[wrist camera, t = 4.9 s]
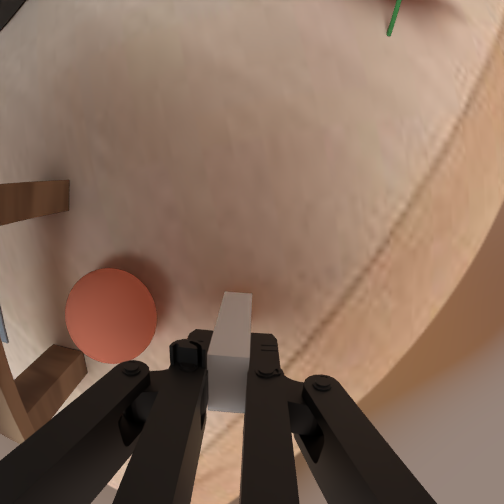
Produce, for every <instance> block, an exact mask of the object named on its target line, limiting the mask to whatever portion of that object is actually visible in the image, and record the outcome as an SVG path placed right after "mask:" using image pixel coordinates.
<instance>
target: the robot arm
mask: <svg viewBox="0 0 504 504" xmlns="http://www.w3.org/2000/svg"><path fill="white" fill-rule="evenodd" d="M24 1H25V0H0V30H1V28H2V27H3V26H4V25H5V24H6V23H7V22H8V20H9V19H10V18H11V17H12V16H13V15H14V13H15V12H16V11H17V10H18V8H19V7H20V6H21V5H22V3H23V2H24ZM251 312H252V293H238V292H224V296H223V299H222V303H221V306H220V310H219V314H218V317H217V321H216V324H215V328H214V331H211V330H200V329H195V330H194V331H193V332H191V333H190V334H189V336H188V338H187V339H182V340H177V341H175V342H173V343H171V345H170V346H169V348H170V363H171V365H170V367H169V369H166V370H161V371H149V367H148V366H147V365H146V364H145V363H143V362H141V361H136V360H129V361H125V362H122V363H120V364H118V365H117V366H115V367H114V368H113V369H112V370H111V371H109V372H108V373H107V374H106V375H104V376H103V377H102V378H101V379H100V380H98V381H97V382H96V383H95V384H93V385H92V386H91V387H90V388H89V389H87V390H86V391H85V392H84V393H82V394H81V395H80V396H79V397H78V398H76V399H75V400H74V401H73V402H71V403H70V404H69V405H68V406H67V407H65V408H64V409H63V410H62V411H60V412H59V413H58V414H57V415H56V416H54V417H53V418H52V419H51V420H49V421H48V422H47V423H46V424H45V425H43V426H42V427H41V428H40V429H38V430H37V431H36V432H35V433H34V434H32V435H31V436H30V437H29V438H27V439H26V440H25V441H24V442H23V443H21V444H20V445H19V446H18V447H16V448H15V449H14V450H13V451H12V452H10V453H9V454H8V455H7V456H5V457H4V458H3V459H2V460H1V461H0V504H91V502H92V501H93V500H94V499H95V498H96V497H97V495H98V494H99V493H100V492H101V491H102V489H103V488H104V487H105V486H106V485H107V483H108V482H109V481H110V480H111V479H112V477H113V476H114V475H115V474H116V473H117V471H118V470H119V469H120V468H121V467H122V465H123V464H124V463H125V462H126V461H127V459H128V458H129V457H130V456H131V454H132V453H133V454H132V456H131V458H130V461H129V463H128V466H127V468H126V471H125V473H124V476H123V478H122V481H121V483H120V486H119V488H118V491H117V493H116V496H115V498H114V501H113V503H112V504H190V502H191V497H192V491H193V486H194V481H195V475H196V470H197V465H198V460H199V454H200V449H201V444H202V439H203V434H204V429H205V424H206V408H207V404H208V410H211V411H221V412H233V413H245V415H244V428H243V447H242V464H241V482H240V499H239V504H299V497H298V486H297V477H296V469H295V460H294V451H293V443H292V434H291V433H294V438H295V440H296V442H297V444H298V446H299V448H300V450H301V452H302V454H303V456H304V458H305V460H306V462H307V464H308V466H309V468H310V470H311V472H312V474H313V476H314V478H315V480H316V482H317V484H318V486H319V487H320V489H321V491H322V493H323V495H324V497H325V499H326V501H327V503H328V504H437V503H436V502H435V501H434V499H433V498H432V497H431V496H430V495H429V494H428V492H427V491H426V490H425V489H424V487H423V486H422V485H421V484H420V483H419V481H418V480H417V479H416V478H415V477H414V475H413V474H412V473H411V471H410V470H409V469H408V468H407V467H406V465H405V464H404V463H403V462H402V460H401V459H400V458H399V457H398V455H397V454H396V453H395V452H394V451H393V449H392V448H391V447H390V446H389V444H388V443H387V442H386V441H385V440H384V438H383V437H382V436H381V435H380V433H379V432H378V431H377V429H375V427H374V426H373V425H372V423H371V422H370V421H369V420H368V418H367V417H366V416H365V415H364V414H363V412H362V411H361V410H360V408H359V407H358V406H357V405H356V403H355V402H354V401H353V399H352V398H351V397H350V396H349V394H348V393H347V392H346V391H345V389H344V388H343V387H342V386H341V384H340V383H339V382H338V381H337V380H336V379H334V378H332V377H330V376H327V375H313V376H309V377H308V378H307V379H305V382H304V383H303V382H298V381H294V380H291V379H289V378H287V377H286V376H284V373H283V370H282V369H281V368H280V361H279V353H278V344H277V339H276V338H275V337H274V336H273V335H272V334H263V333H251Z"/></svg>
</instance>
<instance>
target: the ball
mask: <svg viewBox="0 0 504 504" xmlns="http://www.w3.org/2000/svg"><path fill="white" fill-rule="evenodd" d="M65 319H66V325H67V329H68V332H69V334H70V336H71V338H72V340H73V342H74V343H75V344H76V346H77V347H78V348H79V349H80V350H81V351H82V352H83V353H84V354H86V355H87V356H89V357H90V358H92V359H94V360H97V361H99V362H103V363H110V364H117V363H122V362H125V361H129V360H132V359H134V358H135V357H137V356H138V355H140V354H141V353H142V352H143V351H144V350H145V349H146V348H147V346H148V345H149V344H150V342H151V340H152V338H153V336H154V333H155V329H156V323H157V313H156V307H155V303H154V300H153V298H152V296H151V294H150V292H149V291H148V289H147V288H146V286H145V285H144V284H143V283H142V282H141V281H140V280H139V279H138V278H136V277H135V276H133V275H132V274H130V273H128V272H126V271H123V270H119V269H114V268H103V269H98V270H95V271H92V272H90V273H88V274H86V275H85V276H83V277H82V278H81V279H80V280H79V281H78V282H77V283H76V284H75V285H74V287H73V288H72V290H71V292H70V294H69V296H68V299H67V303H66V308H65Z"/></svg>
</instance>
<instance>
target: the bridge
mask: <svg viewBox="0 0 504 504" xmlns="http://www.w3.org/2000/svg"><path fill="white" fill-rule="evenodd" d="M68 210H69V180H57V181H37V182H21V183H8V184H0V226H1V225H5V224H9V223H13V222H18V221H22V220H26V219H31V218H35V217H40V216H44V215H49V214H54V213H59V212H63V211H68ZM86 374H87V369H86V364H85V359H84V354H83V352H82V351H78V350H74V349H69V348H65V347H62V346H58V345H54V344H53V345H52V346H51V347H50V348H48V349H47V350H46V351H45V352H44V353H43V354H42V355H41V356H40V357H39V358H37V359H36V360H35V361H34V362H33V363H32V364H31V365H30V366H29V367H28V368H27V369H25V370H24V371H23V372H22V373H21V374H20V375H19V376H18V377H17V378H16V379H15V380H14V379H13V376H12V373H11V371H10V367H9V364H8V361H7V358H6V355H5V351H4V348H3V344H2V341H1V337H0V434H2V435H4V436H6V437H7V438H9V439H11V440H13V441H15V442H17V443H19V444H21V443H23V442H24V441H25V440H26V439H27V438H29V437H30V436H31V435H32V434H34V433H35V432H36V431H37V430H38V429H40V428H41V427H42V426H43V425H45V424H46V423H47V422H48V421H49V420H51V419H52V417H53V416H54V415H55V413H56V412H57V411H58V409H59V408H60V407H61V406H62V404H63V403H64V402H65V401H66V399H67V398H68V397H69V395H70V394H71V393H72V392H73V390H74V389H75V388H76V387H77V385H78V384H79V383H80V382H81V380H82V379H83V378H84V377H85V375H86Z"/></svg>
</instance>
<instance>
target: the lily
mask: <svg viewBox="0 0 504 504" xmlns="http://www.w3.org/2000/svg"><path fill="white" fill-rule="evenodd" d="M400 4H401V0H397V1H396V4H395V8H394V11H393V15H392V18H391V22H390V25H389V28H388V32H387V36H391V33H392V30H393V27H394V24H395V21H396V17H397V14H398V11H399V7H400Z"/></svg>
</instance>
